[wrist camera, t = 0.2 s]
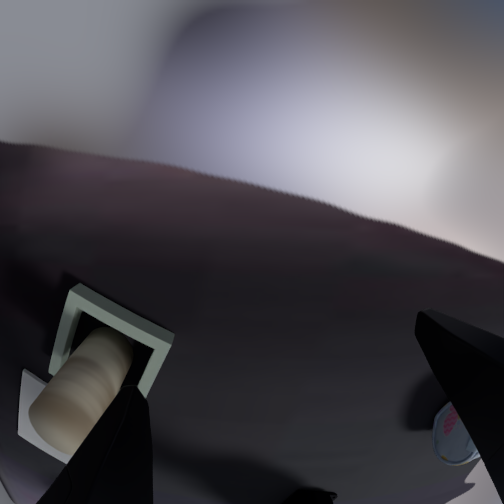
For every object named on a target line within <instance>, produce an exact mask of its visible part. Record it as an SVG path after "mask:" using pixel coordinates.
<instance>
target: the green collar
mask: <svg viewBox="0 0 504 504" xmlns="http://www.w3.org/2000/svg"><path fill="white" fill-rule="evenodd" d="M82 310H83V311H85V312H86V313H88V314H90V315H91V316H93V317H95V318H97V319H98V320H100V321H102V322H104V323H105V324H107V325H109V326H111V327H113V328H115V329H116V330H118V331H120V332H122V333H124V334H126V335H128V336H130V337H132V338H133V339H135V340H137V341H139V342H141V343H143V344H145V345H147V346H149V347H151V348H153V349H154V350H153V353H152V355H151V357H150V359H149V361H148V363H147V366H146V368H145V370H144V372H143V374H142V377H141V379H140V381H139V383H138V385H137V387H138V388H139V390H140V391H141V393H142V394H143V396H144V397H145V398H146V396H147V394H148V392H149V390H150V388H151V386H152V384H153V382H154V380H155V378H156V375H157V373H158V371H159V369H160V367H161V365H162V363H163V361H164V359H165V357H166V355H167V353H168V351H169V349H170V347H171V345H172V342H173V338H174V335H175V334H174V333H172V332H170V331H168V330H166V329H164V328H162V327H160V326H158V325H156V324H154V323H152V322H150V321H148V320H146V319H144V318H142V317H140V316H138V315H136V314H134V313H133V312H131V311H129V310H127V309H125V308H123V307H121V306H119V305H118V304H116V303H114V302H112V301H110V300H109V299H107V298H105V297H103V296H102V295H100V294H98V293H96V292H95V291H93V290H91V289H89V288H88V287H86V286H84V285H83V284H81V283H79V284H77V285H76V286H75V287H73V288H72V289H70V290H69V293H68V297H67V300H66V303H65V307H64V310H63V314H62V317H61V321H60V324H59V328H58V332H57V336H56V340H55V344H54V348H53V353H52V357H51V362H50V366H49V371H48V372H49V373H50V374H52V375H53V376H54V375H55V374H56V373H57V372H58V371H59V369H60V368H61V367H62V366H63V364H64V363H65V362H66V361H67V360H68V356H69V353H70V349H71V345H72V342H73V338H74V335H75V332H76V328H77V325H78V322H79V319H80V316H81V313H82ZM120 390H121V389H119V391H120ZM119 391H118V392H119ZM117 394H118V393H117Z"/></svg>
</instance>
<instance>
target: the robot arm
mask: <svg viewBox="0 0 504 504" xmlns="http://www.w3.org/2000/svg"><path fill="white" fill-rule="evenodd" d="M415 336H416V338H417V340H418V342H419V344H420V346H421V348H422V351H423V353H424V355H425V357H426V359H427V361H428V363H429V365H430V367H431V369H432V371H433V373H434V375H435V376H436V378H437V380H438V381H439V383H440V385H441V386H442V388H443V390H444V391H445V393H446V395H447V396H448V398H449V400H450V401H451V403H452V405H453V407H454V408H455V410H456V412H457V414H458V415H459V417H460V419H461V421H462V423H463V424H464V426H465V428H466V430H467V432H468V433H469V435H470V437H471V439H472V441H473V443H474V445H475V447H476V448H477V450H478V452H479V454H480V456H481V458H482V460H483V462H484V464H485V466H486V469H487V471H488V473H489V475H490V477H491V479H492V481H493V483H494V485H495V487H496V489H497V492H498V494H499V496H500V499H501V501H502V503H503V504H504V338H503V337H500V336H498V335H495V334H493V333H491V332H488V331H486V330H483V329H481V328H478V327H476V326H473V325H471V324H469V323H466V322H464V321H461V320H459V319H456V318H454V317H451V316H449V315H446V314H444V313H441V312H439V311H436V310H434V309H431V308H426V309H424V310H421V311H419V312H418V314H417V319H416V325H415ZM336 498H337V494H336V493H325V492H316V491H308V490H297V491H296V492H295V493H294V494H293V495H291V496H290V497H289V498H288V499H287V500H286V501H285V502H284V503H282V504H333V500H335V499H336ZM36 504H153V453H152V438H151V428H150V417H149V406H148V402H147V400H146V399H145V397H144V396H143V394H142V393H141V391H140V390H139V388H138V387H137V386H136V385H128V386H123V387H122V388H121V390H120V391H119V392H118V394H117V395H116V396H115V398H114V399H113V401H112V402H111V403H110V405H109V406H108V407H107V409H106V410H105V412H104V413H103V414H102V416H101V417H100V418H99V420H98V421H97V423H96V424H95V425H94V427H93V428H92V429H91V431H90V432H89V434H88V435H87V436H86V438H85V439H84V441H83V442H82V443H81V445H80V446H79V448H78V449H77V450H76V452H75V453H74V455H73V456H72V457H71V459H70V460H69V462H68V463H67V466H65V467H64V469H63V470H62V472H61V473H60V474H59V476H58V477H57V478H56V480H55V481H54V482H53V484H52V485H51V486H50V488H49V489H48V490H47V491H46V492H45V494H44V495H43V496H42V497H41V498H40V499H39V501H38V502H37V503H36Z"/></svg>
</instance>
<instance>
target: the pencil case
mask: <svg viewBox="0 0 504 504" xmlns="http://www.w3.org/2000/svg"><path fill="white" fill-rule="evenodd" d="M432 445H433V449H434V452H435V454H436V456H437V457H438V459H439V460H440V461H442V462H443V463H445V464H448V465H462V464H466V463H468V462H470V461H471V460H473V459H475V458H478V457H480V454H479V452H478V450H477V448H476V447H475V445H474V443H473V441H472V439H471V437H470V435H469V433H468V432H467V430H466V428H465V426H464V424H463V423H462V421H461V419H460V417H459V415H458V414H457V412H456V410H455V408H454V407H453V405H452V403H451V401H450V402H449V403H447V404H446V405H445V406H444V407H443V408H442V409H441V410H440V411H439V412H438V413H437V414H436V416H435V419H434V424H433V431H432Z"/></svg>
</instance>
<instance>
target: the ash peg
mask: <svg viewBox="0 0 504 504" xmlns="http://www.w3.org/2000/svg"><path fill="white" fill-rule="evenodd" d="M133 357H134V354H133V349H132V346H131V344H130V342H129V341H128V339H127V338H126V337H125V336H124V335H123V334H122V333H120V332H119V331H117V330H115V329H112V328H109V327H99V328H96V329H94V330H93V331H92V332H91V333H90V334H89V335H88V336H87V337H86V339H85V340H84V341H83V342H82V343H81V344H80V346H79V347H78V348H77V349H76V350H75V351H74V353H73V354H72V355H71V356H70V357H69V358H68V360H67V361H66V362H65V363H64V364H63V366H62V367H61V368H60V369H59V371H58V372H57V373H56V374H55V375H54V377H53V378H52V379H51V380H50V382H49V383H48V384H47V385H46V387H45V388H44V389H43V390H42V392H41V393H40V394H39V395H38V397H37V398H36V399H35V400H34V402H33V403H32V404H31V406H30V407H29V411H28V415H29V419H30V422H31V425H32V426H33V428H34V430H35V431H36V432H37V434H38V435H39V436H40V437H41V438H42V439H43V440H44V441H45V442H46V443H47V444H49V445H50V446H52V447H53V448H55V449H56V450H58V451H60V452H62V453H65V454H68V455H72V456H73V455H74V453H75V452H76V450H77V449H78V448H79V446H80V445H81V443H82V442H83V441H84V439H85V438H86V436H87V435H88V434H89V432H90V431H91V429H92V428H93V427H94V425H95V424H96V423H97V421H98V420H99V418H100V417H101V416H102V414H103V413H104V412H105V410H106V409H107V407H108V406H109V405H110V403H111V402H112V401H113V399H114V398H115V396H116V395H117V393H118V391H119V389H120V387H121V385H122V382H123V380H124V378H125V376H126V374H127V372H128V370H129V368H130V366H131V364H132V361H133Z"/></svg>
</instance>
